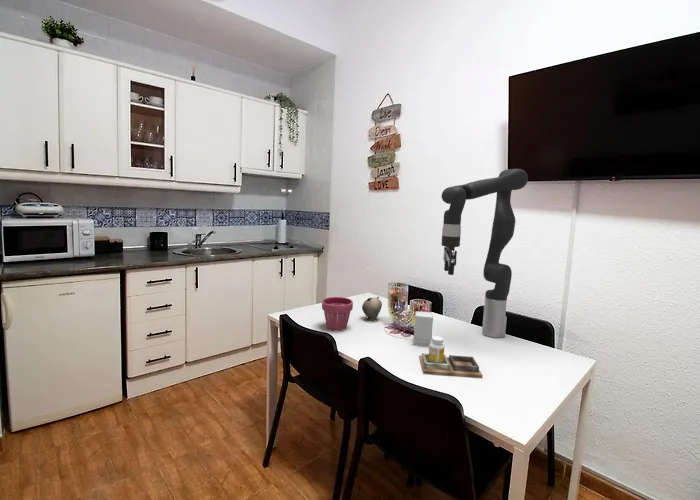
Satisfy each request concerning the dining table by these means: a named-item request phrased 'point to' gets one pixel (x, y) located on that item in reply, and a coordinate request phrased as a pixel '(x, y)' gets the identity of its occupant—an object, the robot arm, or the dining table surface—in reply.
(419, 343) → the supplement box
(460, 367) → the socket board
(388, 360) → the dining table surface
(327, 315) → the plant pot
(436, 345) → the supplement bottle
